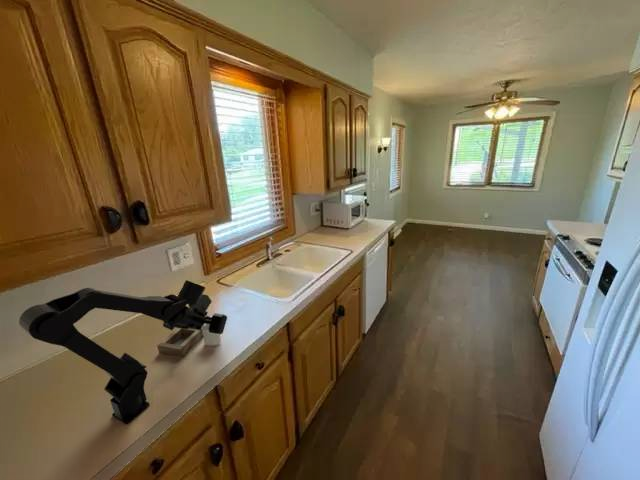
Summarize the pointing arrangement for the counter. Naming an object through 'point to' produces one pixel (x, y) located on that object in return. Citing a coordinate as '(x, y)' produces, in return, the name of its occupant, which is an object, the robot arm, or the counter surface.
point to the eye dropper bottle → (210, 336)
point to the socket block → (180, 342)
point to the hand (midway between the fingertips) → (212, 325)
